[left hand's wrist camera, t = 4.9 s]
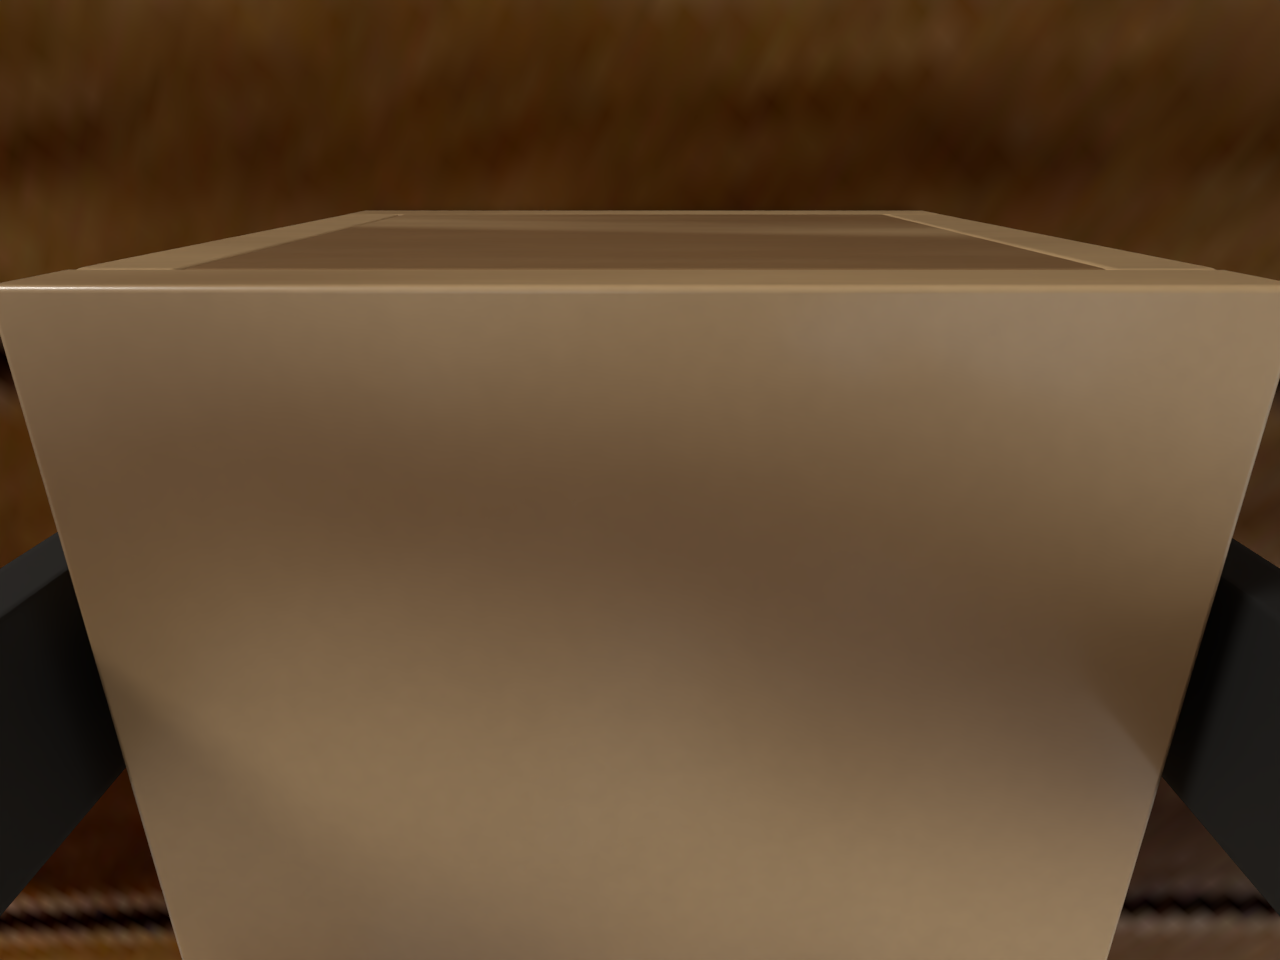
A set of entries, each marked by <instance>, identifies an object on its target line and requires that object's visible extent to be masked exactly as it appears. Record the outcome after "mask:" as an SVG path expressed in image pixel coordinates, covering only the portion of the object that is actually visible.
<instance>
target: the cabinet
mask: <svg viewBox="0 0 1280 960" xmlns="http://www.w3.org/2000/svg"><path fill="white" fill-rule="evenodd" d="M0 335H1V339H2V342H3V346H4V349H5V352H6V356H7V359H8V363H9V366H10V370H11V373H12V377H13V380H14V383H15V387H16V390H17V394H18V397H19V401H20V404H21V407H22V411H23V414H24V418H25V421H26V425H27V428H28V431H29V435H30V438H31V442H32V445H33V449H34V452H35V456H36V459H37V462H38V466H39V469H40V473H41V476H42V480H43V483H44V486H45V490H46V493H47V497H48V500H49V504H50V507H51V510H52V514H53V517H54V521H55V524H56V528H57V531H58V535H59V538H60V541H61V545H62V548H63V552H64V555H65V559H66V562H67V565H68V569H69V572H70V576H71V579H72V583H73V586H74V589H75V593H76V596H77V600H78V603H79V607H80V610H81V614H82V617H83V620H84V624H85V627H86V631H87V634H88V638H89V641H90V644H91V648H92V651H93V655H94V658H95V662H96V665H97V668H98V672H99V675H100V679H101V682H102V686H103V689H104V693H105V696H106V699H107V703H108V706H109V710H110V713H111V717H112V720H113V723H114V727H115V730H116V734H117V737H118V741H119V744H120V747H121V751H122V754H123V758H124V761H125V765H126V768H127V772H128V775H129V778H130V782H131V785H132V789H133V792H134V796H135V799H136V802H137V806H138V809H139V813H140V816H141V820H142V823H143V827H144V830H145V833H146V837H147V840H148V844H149V847H150V851H151V854H152V857H153V861H154V864H155V868H156V871H157V875H158V878H159V881H160V885H161V888H162V892H163V895H164V899H165V902H166V906H167V909H168V912H169V916H170V919H171V923H172V926H173V930H174V933H175V936H176V940H177V943H178V947H179V950H180V954H181V957H182V960H1107V958H1108V954H1109V951H1110V948H1111V944H1112V941H1113V937H1114V934H1115V931H1116V927H1117V924H1118V921H1119V917H1120V914H1121V910H1122V907H1123V904H1124V900H1125V897H1126V894H1127V890H1128V887H1129V884H1130V880H1131V877H1132V873H1133V870H1134V867H1135V863H1136V860H1137V857H1138V853H1139V850H1140V846H1141V843H1142V840H1143V836H1144V833H1145V830H1146V826H1147V823H1148V819H1149V816H1150V813H1151V809H1152V806H1153V803H1154V799H1155V796H1156V793H1157V789H1158V786H1159V782H1160V779H1161V776H1162V772H1163V769H1164V766H1165V762H1166V759H1167V755H1168V752H1169V749H1170V745H1171V742H1172V739H1173V735H1174V732H1175V729H1176V725H1177V722H1178V718H1179V715H1180V712H1181V708H1182V705H1183V702H1184V698H1185V695H1186V691H1187V688H1188V685H1189V681H1190V678H1191V675H1192V671H1193V668H1194V665H1195V661H1196V658H1197V654H1198V651H1199V648H1200V644H1201V641H1202V638H1203V634H1204V631H1205V627H1206V624H1207V621H1208V617H1209V614H1210V611H1211V607H1212V604H1213V600H1214V597H1215V594H1216V590H1217V587H1218V584H1219V580H1220V577H1221V574H1222V570H1223V567H1224V563H1225V560H1226V557H1227V553H1228V550H1229V547H1230V543H1231V540H1232V536H1233V533H1234V530H1235V526H1236V523H1237V520H1238V516H1239V513H1240V510H1241V506H1242V503H1243V499H1244V496H1245V493H1246V489H1247V486H1248V483H1249V479H1250V476H1251V472H1252V469H1253V466H1254V462H1255V459H1256V456H1257V452H1258V449H1259V446H1260V442H1261V439H1262V435H1263V432H1264V429H1265V425H1266V422H1267V419H1268V415H1269V412H1270V408H1271V405H1272V402H1273V398H1274V395H1275V392H1276V388H1277V385H1278V382H1279V378H1280V281H1277V280H1272V279H1267V278H1262V277H1257V276H1252V275H1247V274H1242V273H1237V272H1231V271H1226V270H1215V269H1213V268H1210V267H1205V266H1200V265H1195V264H1189V263H1184V262H1179V261H1174V260H1169V259H1164V258H1159V257H1154V256H1149V255H1144V254H1139V253H1134V252H1129V251H1123V250H1118V249H1113V248H1108V247H1103V246H1098V245H1093V244H1088V243H1083V242H1078V241H1073V240H1068V239H1063V238H1057V237H1052V236H1047V235H1042V234H1037V233H1032V232H1027V231H1022V230H1017V229H1012V228H1007V227H1002V226H996V225H991V224H986V223H981V222H976V221H971V220H966V219H961V218H956V217H951V216H946V215H941V214H936V213H931V212H926V211H361V212H356V213H351V214H347V215H342V216H337V217H332V218H327V219H322V220H317V221H312V222H307V223H302V224H297V225H292V226H287V227H282V228H277V229H272V230H267V231H262V232H257V233H252V234H247V235H242V236H237V237H232V238H227V239H222V240H217V241H212V242H207V243H202V244H197V245H192V246H187V247H182V248H177V249H172V250H166V251H161V252H156V253H151V254H146V255H141V256H136V257H131V258H126V259H121V260H116V261H111V262H106V263H101V264H96V265H91V266H86V267H81V268H79V269H77V270H64V271H59V272H54V273H49V274H43V275H38V276H33V277H28V278H23V279H18V280H13V281H8V282H3V283H0Z"/></svg>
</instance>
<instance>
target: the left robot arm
mask: <svg viewBox="0 0 1280 960" xmlns="http://www.w3.org/2000/svg"><path fill="white" fill-rule="evenodd" d="M125 768H126V765H125V761H124V758H123V754H122V751H121V747H120V744H119V741H118V737H117V734H116V730H115V727H114V723H113V720H112V717H111V713H110V710H109V706H108V703H107V699H106V696H105V693H104V689H103V686H102V682H101V679H100V675H99V672H98V668H97V665H96V662H95V658H94V655H93V651H92V648H91V644H90V641H89V638H88V634H87V631H86V627H85V624H84V620H83V617H82V614H81V610H80V607H79V603H78V600H77V596H76V593H75V589H74V586H73V583H72V579H71V576H70V572H69V569H68V565H67V562H66V559H65V555H64V552H63V548H62V545H61V541H60V538H59V535H58V532H57V533H55V534H54V535H52V536H50V537H49V538H47V539H46V540H44V541H43V542H41V543H40V544H38V545H36V546H35V547H33V548H32V549H30V550H29V551H27V552H26V553H24V554H22V555H21V556H19V557H18V558H16V559H15V560H13V561H12V562H10V563H8V564H7V565H5V566H4V567H2V568H1V569H0V916H1V915H2V913H3V912H4V911H5V910H6V909H7V907H8V906H9V905H10V904H11V903H12V901H13V900H14V899H15V898H16V897H17V896H18V894H19V893H20V892H21V891H22V890H23V888H24V887H25V886H26V885H27V884H28V883H29V881H30V880H31V879H32V878H33V877H34V875H35V874H36V873H37V872H38V871H39V869H40V868H41V867H42V866H43V865H44V864H45V862H46V861H47V860H48V859H49V858H50V856H51V855H52V854H53V853H54V852H55V851H56V849H57V848H58V847H59V846H60V845H61V843H62V842H63V841H64V840H65V839H66V838H67V836H68V835H69V834H70V833H71V832H72V830H73V829H74V828H75V827H76V826H77V824H78V823H79V822H80V821H81V820H82V819H83V817H84V816H85V815H86V814H87V813H88V811H89V810H90V809H91V808H92V807H93V806H94V804H95V803H96V802H97V801H98V800H99V798H100V797H101V796H102V795H103V794H104V792H105V791H106V790H107V789H108V788H109V787H110V785H111V784H112V783H113V782H114V781H115V779H116V778H117V777H118V776H119V775H120V774H121V772H122V771H123V770H124V769H125ZM1162 777H1163V778H1164V779H1165V781H1166V782H1167V783H1168V784H1169V785H1170V787H1171V788H1172V789H1173V790H1174V791H1175V792H1176V794H1177V795H1178V796H1179V797H1180V798H1181V800H1182V801H1183V802H1184V803H1185V804H1186V805H1187V807H1188V808H1189V809H1190V810H1191V811H1192V813H1193V814H1194V815H1195V816H1196V817H1197V819H1198V820H1199V821H1200V822H1201V823H1202V824H1203V826H1204V827H1205V828H1206V829H1207V830H1208V832H1209V833H1210V834H1211V835H1212V836H1213V837H1214V839H1215V840H1216V841H1217V842H1218V843H1219V845H1220V846H1221V847H1222V848H1223V849H1224V850H1225V852H1226V853H1227V854H1228V855H1229V856H1230V858H1231V859H1232V860H1233V861H1234V862H1235V864H1236V865H1237V866H1238V867H1239V868H1240V869H1241V871H1242V872H1243V873H1244V874H1245V875H1246V877H1247V878H1248V879H1249V880H1250V881H1251V882H1252V884H1253V885H1254V886H1255V887H1256V888H1257V890H1258V891H1259V892H1260V893H1261V894H1262V896H1263V897H1264V898H1265V899H1266V900H1267V901H1268V903H1269V904H1270V905H1271V906H1272V907H1273V909H1274V910H1275V911H1276V912H1277V913H1278V914H1279V916H1280V569H1279V568H1278V567H1276V566H1275V565H1273V564H1272V563H1270V562H1269V561H1267V560H1265V559H1264V558H1262V557H1261V556H1259V555H1258V554H1256V553H1254V552H1253V551H1251V550H1250V549H1248V548H1247V547H1245V546H1244V545H1242V544H1240V543H1239V542H1237V541H1236V540H1234V539H1233V538H1232V540H1231V543H1230V547H1229V550H1228V553H1227V557H1226V560H1225V563H1224V567H1223V570H1222V574H1221V577H1220V580H1219V584H1218V587H1217V590H1216V594H1215V597H1214V600H1213V604H1212V607H1211V611H1210V614H1209V617H1208V621H1207V624H1206V627H1205V631H1204V634H1203V638H1202V641H1201V644H1200V648H1199V651H1198V654H1197V658H1196V661H1195V665H1194V668H1193V671H1192V675H1191V678H1190V681H1189V685H1188V688H1187V691H1186V695H1185V698H1184V702H1183V705H1182V708H1181V712H1180V715H1179V718H1178V722H1177V725H1176V729H1175V732H1174V735H1173V739H1172V742H1171V745H1170V749H1169V752H1168V755H1167V759H1166V762H1165V766H1164V769H1163V772H1162Z"/></svg>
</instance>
